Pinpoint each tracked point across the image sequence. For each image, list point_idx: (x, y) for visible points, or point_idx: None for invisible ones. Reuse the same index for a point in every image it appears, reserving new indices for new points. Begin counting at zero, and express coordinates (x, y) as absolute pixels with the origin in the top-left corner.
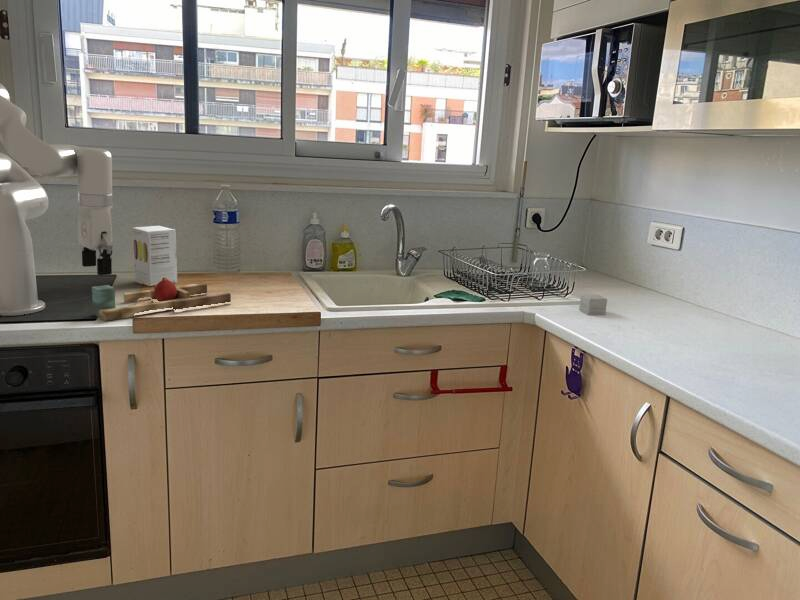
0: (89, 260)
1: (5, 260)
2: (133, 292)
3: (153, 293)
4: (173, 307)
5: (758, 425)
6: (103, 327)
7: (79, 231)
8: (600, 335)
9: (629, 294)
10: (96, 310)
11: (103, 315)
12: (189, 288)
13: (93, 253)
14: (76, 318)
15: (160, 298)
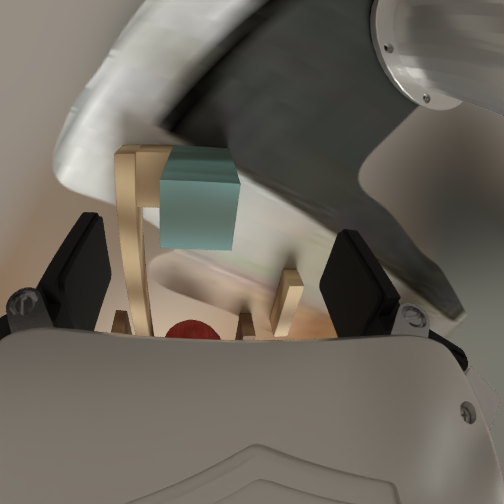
0: (339, 280)
1: None
2: (294, 306)
3: (242, 333)
4: (125, 320)
5: None
6: (73, 119)
7: (453, 466)
8: None
9: None
10: (198, 151)
11: (133, 148)
12: None
13: (345, 333)
14: (225, 88)
15: (174, 326)
